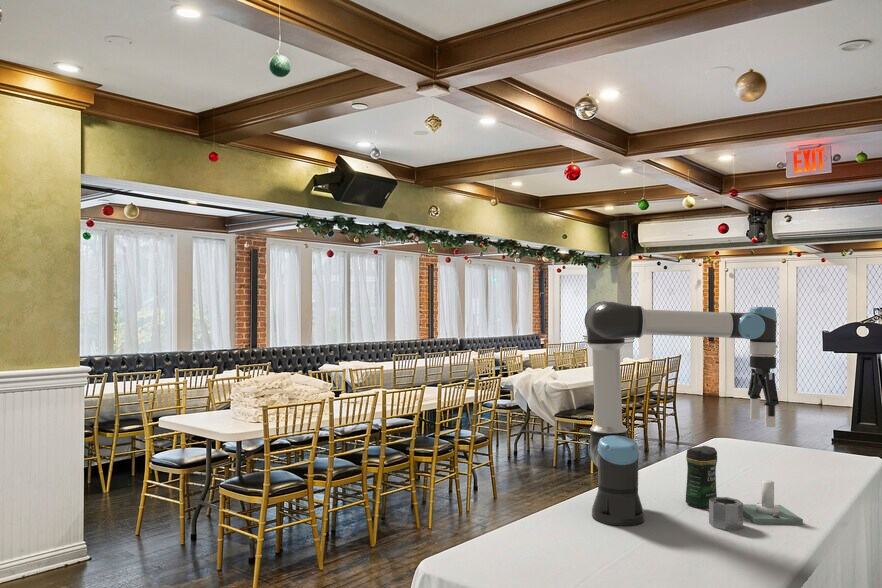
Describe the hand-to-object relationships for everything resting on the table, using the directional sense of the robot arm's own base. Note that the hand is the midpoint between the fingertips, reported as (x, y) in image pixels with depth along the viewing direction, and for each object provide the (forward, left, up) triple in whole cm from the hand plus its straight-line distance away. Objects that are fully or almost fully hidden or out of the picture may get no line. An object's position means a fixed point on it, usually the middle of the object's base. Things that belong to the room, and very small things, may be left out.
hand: (762, 423), depth 214 cm
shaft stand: (-2, -8, -27) cm, 28 cm away
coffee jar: (-18, +3, -27) cm, 33 cm away
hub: (-18, -17, -27) cm, 37 cm away
